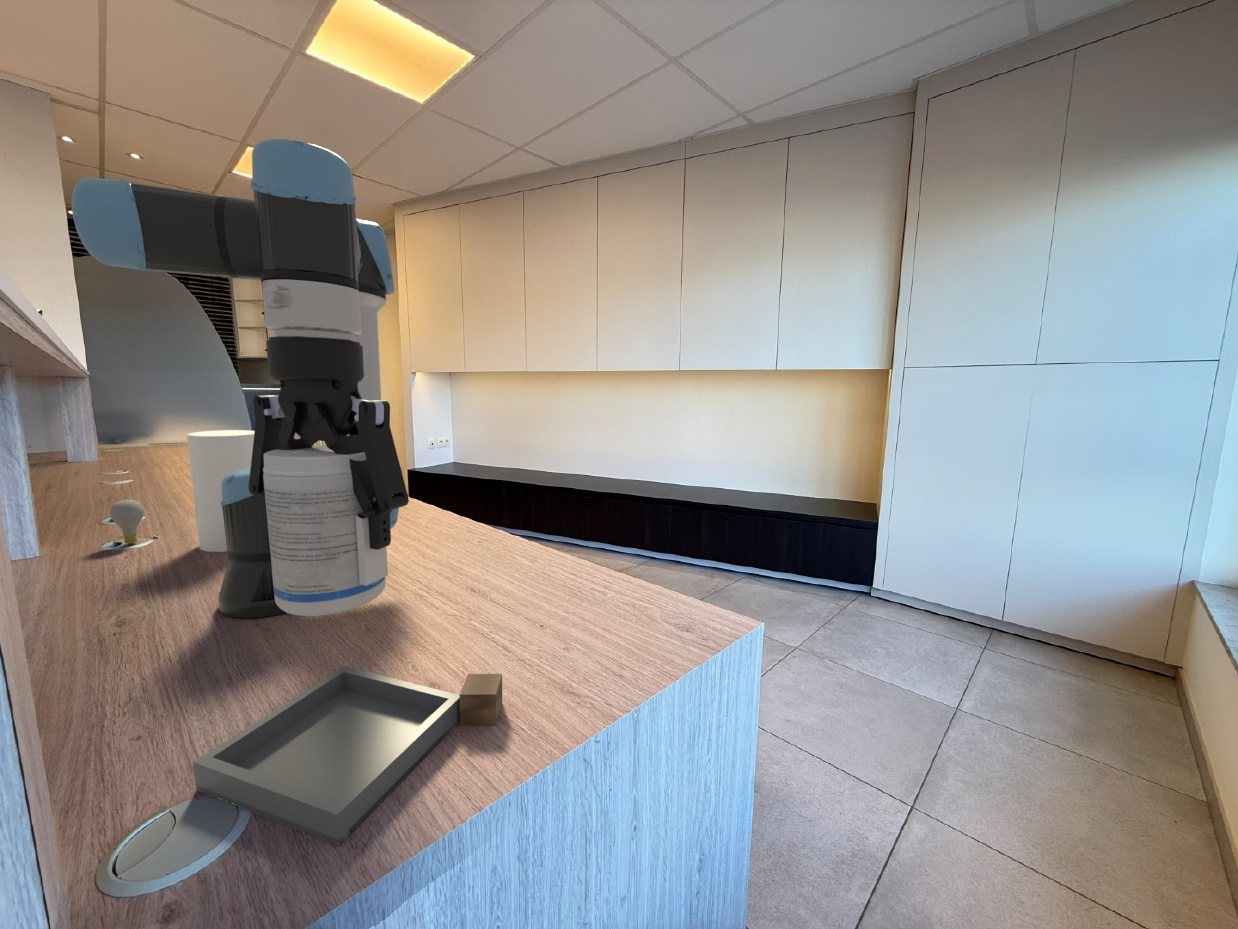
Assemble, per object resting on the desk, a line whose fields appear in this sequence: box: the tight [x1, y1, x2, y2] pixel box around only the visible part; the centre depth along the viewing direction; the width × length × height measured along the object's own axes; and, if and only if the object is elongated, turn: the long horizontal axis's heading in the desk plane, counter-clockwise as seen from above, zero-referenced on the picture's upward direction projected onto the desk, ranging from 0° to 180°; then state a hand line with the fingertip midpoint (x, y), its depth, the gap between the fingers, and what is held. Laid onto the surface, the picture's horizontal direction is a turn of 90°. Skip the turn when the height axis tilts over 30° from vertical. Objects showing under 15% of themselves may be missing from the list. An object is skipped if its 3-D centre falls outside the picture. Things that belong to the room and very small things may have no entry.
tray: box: [192, 665, 460, 847], centre depth 52 cm, size 17×17×3 cm
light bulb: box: [109, 499, 145, 545], centre depth 111 cm, size 6×6×10 cm
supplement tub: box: [263, 444, 387, 617], centre depth 49 cm, size 10×10×15 cm
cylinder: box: [186, 429, 255, 553], centre depth 113 cm, size 12×12×25 cm
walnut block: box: [459, 673, 503, 727], centre depth 59 cm, size 4×4×4 cm
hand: (331, 572), depth 49 cm, fingers closed on supplement tub, 10 cm apart
